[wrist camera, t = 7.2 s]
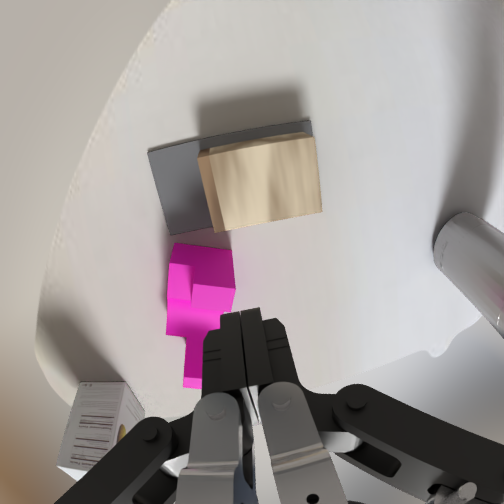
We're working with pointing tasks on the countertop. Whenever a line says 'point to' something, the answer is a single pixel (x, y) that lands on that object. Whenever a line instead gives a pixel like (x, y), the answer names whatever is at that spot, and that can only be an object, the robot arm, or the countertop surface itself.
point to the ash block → (261, 180)
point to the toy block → (197, 300)
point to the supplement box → (97, 424)
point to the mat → (198, 175)
